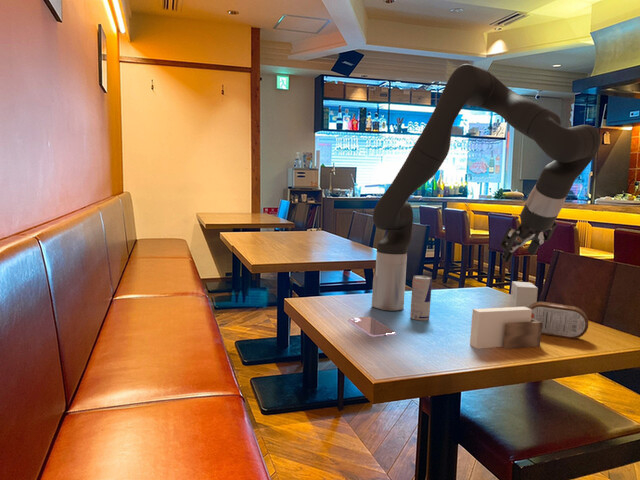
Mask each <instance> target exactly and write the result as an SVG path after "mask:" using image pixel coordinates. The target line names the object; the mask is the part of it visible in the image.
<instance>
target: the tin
mask: <svg viewBox="0 0 640 480" xmlns="http://www.w3.org/2000/svg"><path fill="white" fill-rule="evenodd" d="M528 308H529V309H532V313H531V318H533V319H535V320H538V321H540V322H543V323H542V333H541V335H545V336H553V337H557V338H562V339H563V338H564V339H571V340H572V339H573V340H574V339H575V340H576V339H578V338H581V337H582V336H584V335H585V334H586V333H587V332H588V329H589V317H588V316H587V314H586V312H584V310H582V309H581V308H579V307H578V306H574V305H567V304H560V303H554V302H548V301H547V302H546V301H537V302H536V303H533V304H531V305H530V306H529V307H528Z"/></svg>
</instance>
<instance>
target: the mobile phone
mask: <svg viewBox="0 0 640 480" xmlns="http://www.w3.org/2000/svg"><path fill="white" fill-rule="evenodd" d="M347 321H348V323H351V324H352V325H353V326H354V327H356V328H358V329H359V330H360V331H362V332H364V333H365V334H366V335H368V336H370V337H374V338H377V337H379V338H380V337H388V336H396V335H397V332H396V331H395V330H392V329H391V328H390V327H388V326H386V325H385V324H383V323H382V322H380V321H378V320H377V319H375V318H373V317H371V316H365V317H364V316H363V317H361V316H360V317H351V318H348V319H347Z"/></svg>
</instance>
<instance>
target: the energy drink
mask: <svg viewBox="0 0 640 480" xmlns="http://www.w3.org/2000/svg"><path fill="white" fill-rule="evenodd" d="M411 283H412V284H411V300H410V315H409V317H410V318H411V319H413V320H414V321H421V322H424V321H428V320H429V319H430V314H431V313H430V311H431V302H432V301H431V299H432V285H433V280H432V277H431V276H427V275H413V278H412V282H411Z"/></svg>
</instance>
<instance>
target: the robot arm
mask: <svg viewBox="0 0 640 480" xmlns="http://www.w3.org/2000/svg"><path fill="white" fill-rule="evenodd" d="M465 105H467V106H471V107H479V108H482V109H485V110H488V111H491V112H493V113H495V114H497V115H498V116H499V117H501V118H502V119H503V120H504V121H505V122H506V123H507V124H509V126H511V127H512V128H513V129H514V130H516V131H518V132H520V133H521V134H522V135H524V136H526V137H527V138H528V139H531V140H533V141H534V142H535V143H536V145H537V146H538V147H539V148H540V149H541V150H542V151H543V152H544V154H546V156H547V157H548V158H550V159H552V160H553V161H551V162H549V163H548V164H546V165H545V166H544V167H543V169H542V171H541V172H540V174H539V175H538V176H539V177H538V178H537V181H536V183H535V185H534V187H533V188H532V190H531V191H530V193H529V194H528V197H527V199H526V201H525V203H524V205H523V208H522V211H521V212H520V214H519V218H520V224H519V225H518V227H516V228H512V227H511V226H510V227H508V229H506V232H505V233H504V236H503V238H502V239H501V241H500V243H499V247H500V248H502V249H503V252H502V254H501V260H503V261H504V262H505V263H507V264H508V263H509V262H510V261H511V260H512V259H513V255H514V254H515V251H516V250H517V249H518V248H519V247H520V248H522V247H523V246H524V245H525V244H526V243H527V242H530V243H529V244H528V248H527V250H526V251H527V253H529V254H530V255H531V256H535V255H536V253H537V252H538V250H539V248H540V246H541V245H543V244H544V243H545V242H548V241H550V240H551V238H552V236H553V233H554V232H555V229H556V228H557V226H558V222H556V220H557V218H558V216H559V214H560V212H561V211H562V208H563V207H564V205H565V201H566V199H567V197H568V194H569V192H570V191H571V190H572V187H573V185H574V183H575V181H576V179H577V178H579V176H580V175H581V174H582V173H583V172H584V171H585V169H586V168H587V167H588V166H589V164H590V163H591V162H592V160H593V159H594V158H595V156H596V155H597V153H598V152H599V149H600V146H601V134H600V132H599V130H598V129H597V128H596V127H595V126H593V125H590V124H580V125H576V126H571V127H565V126H562V125H561V124H562V121H561V117H560V116H559V114H557V113H556V112H554V111H552V110H551V109H549V108H547V107H546V106H544V105H541V104H539V103H538V102H535V101H534V100H531V99H529V98H527V97H525V96H522V95H520V94H518V93H517V92H515V91H513V90H512V89H510V87H508V86H506V85H505V83H503V82H502V81H501V80H500V79H499V78H497V77H496V76H495V75H494V74H493V73H492V72H490V71H489V70H487V69H484V68H482V67H480V66H477V65H474V64H470V63H463V64H461V65H459V66H458V67H456V68H455V69H454V71H453V72H452V73H451V75H449V78H448V79H447V82H446V84H445V86H444V88H443V90H442V93H441V95H440V97H439V99H438V101H437V104H436V106H435V108H434V110H433V112H432V114H431V116H430V117H429V119H428V121H427V123H426V124H425V126H424V128H423V129H422V132H421V133H420V135H419V137H418V138H417V140H416V141H415V143H414V144H413V146H412V148H411V150H410V152H409V153H408V155H407V157H406V159H405V161H404V163H403V164H402V166H401V168H400V169H399V171H398V172H397V174H396V176H395V177H394V179H393V180H392V181H391V184H390V185H389V186H388V188H387V190H385V192H384V193H383V195H382V196H381V197H380V199H379V200H378V202H377V203H376V205H375V206H374V209H373V213H372V222H373V224H374V226H375V227H376V229H377V228H378V229H379V230H382V231H387V232H386V235H385V236H384V237H383V238H382V239H381V240H380V241H378V242H377V244H376V257H375V260H376V261H375V275H373V277H372V291H371V292H372V294H371V295H372V297H371V307H372V308H376V309H378V310H382V311H388V312H389V311H391V312H392V311H394V312H396V311H402V310H403V309H404V307H405V293H406V292H405V290H406V279H407V278H406V277H407V275H406V274H407V260H408V248H409V246H410V245H411V242H412V241H411V240H412V232H413V224H414V212H413V211H414V210H413V207H412V206H411V203H410V202H409V201H408V200H409V198H410V197H411V196H412V195H413V194H414V193H415V192H416V191H418V189H420V188H421V187H423V186H424V185H425V184H426V183H427V182H428V181H430V180H431V179H432V178H433V177H434V176H435V175H436V174H437V172H438V171H439V170H440V168H441V166H442V165H443V163H444V161H445V160H446V158H447V156H448V154H449V153H450V148H451V142H452V141H451V140H452V139H451V138H452V132H453V131H452V129H453V126H454V124H455V121H456V119H457V117H458V116H459V114H460V112H461V111H462V109H463V108H464V106H465ZM518 238H519V240H521V241H519V240H518Z"/></svg>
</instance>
